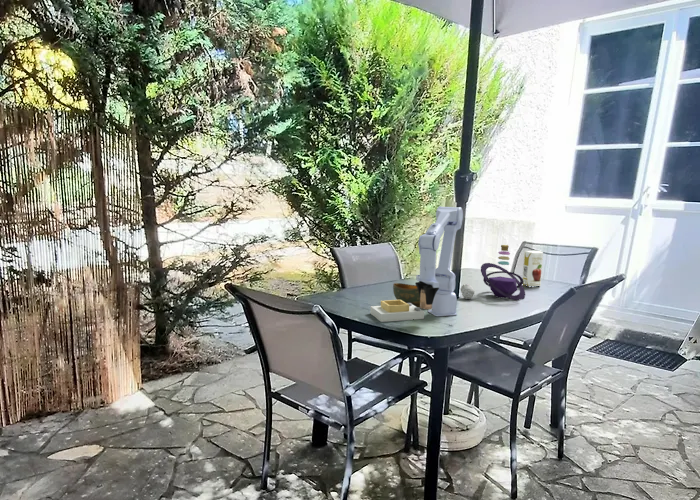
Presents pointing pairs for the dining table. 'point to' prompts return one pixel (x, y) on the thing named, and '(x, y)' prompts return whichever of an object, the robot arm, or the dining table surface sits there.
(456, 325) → the dining table surface
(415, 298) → the green brown bowl
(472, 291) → the white bumpy ball
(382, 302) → the tray with yellow box
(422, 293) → the copper can
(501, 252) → the decorative bottle
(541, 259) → the juice carton
